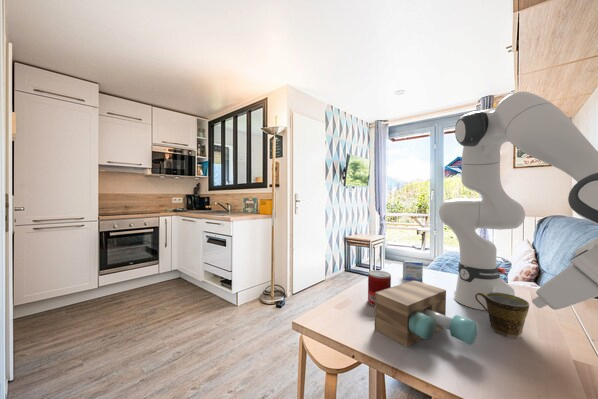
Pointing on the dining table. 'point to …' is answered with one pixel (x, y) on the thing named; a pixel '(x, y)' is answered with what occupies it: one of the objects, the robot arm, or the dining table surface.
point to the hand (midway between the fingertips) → (537, 303)
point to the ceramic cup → (505, 313)
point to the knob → (456, 326)
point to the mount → (408, 311)
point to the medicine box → (412, 270)
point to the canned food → (377, 283)
